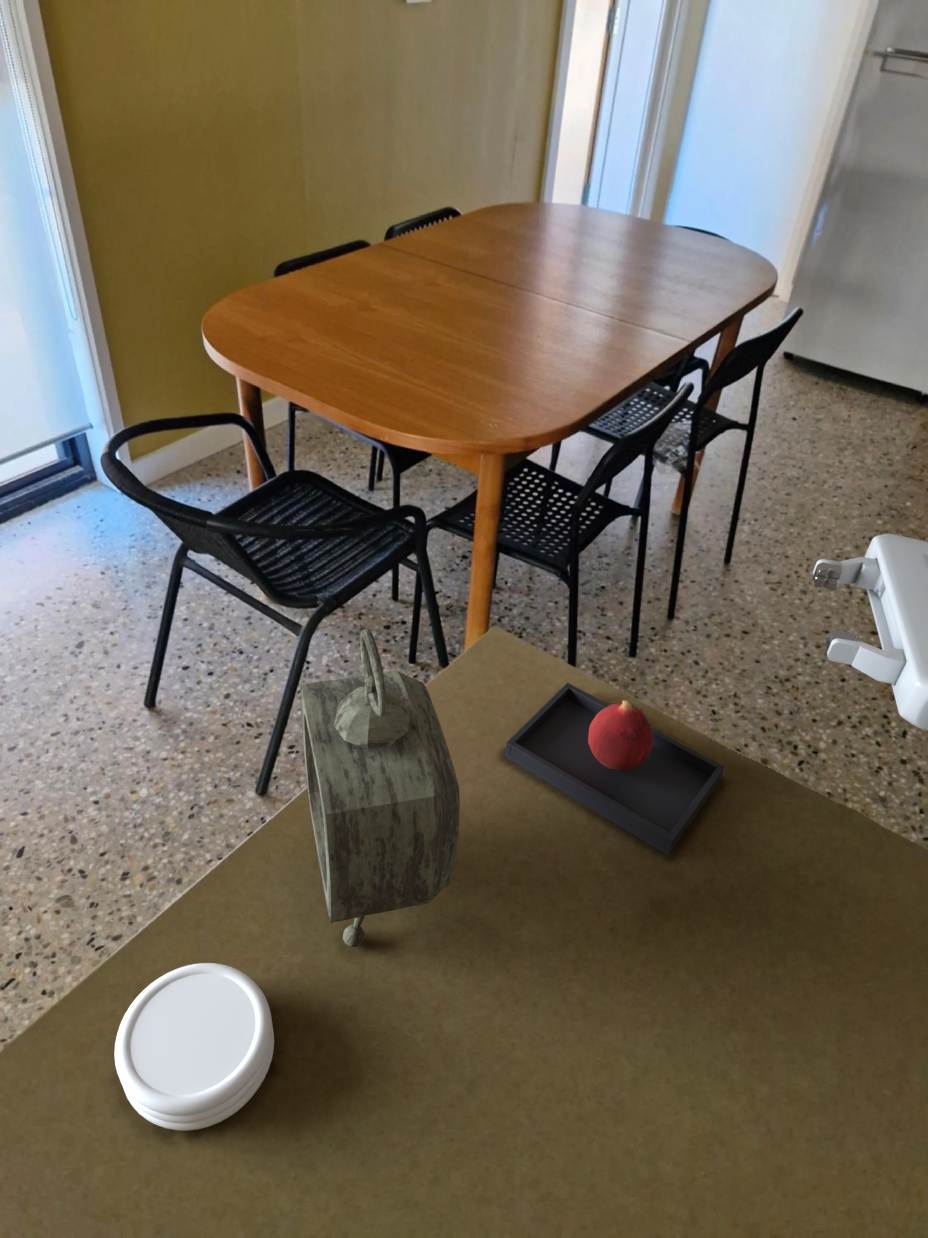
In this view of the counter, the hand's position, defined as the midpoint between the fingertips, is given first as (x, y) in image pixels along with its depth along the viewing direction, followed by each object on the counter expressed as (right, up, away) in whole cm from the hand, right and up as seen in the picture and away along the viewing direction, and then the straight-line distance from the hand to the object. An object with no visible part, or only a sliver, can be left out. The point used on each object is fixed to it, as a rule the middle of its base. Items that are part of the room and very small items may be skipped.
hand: (821, 606), depth 67 cm
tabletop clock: (-34, -22, +5) cm, 41 cm away
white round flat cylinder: (-45, -31, -7) cm, 55 cm away
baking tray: (-13, -15, +16) cm, 26 cm away
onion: (-13, -15, +16) cm, 25 cm away
